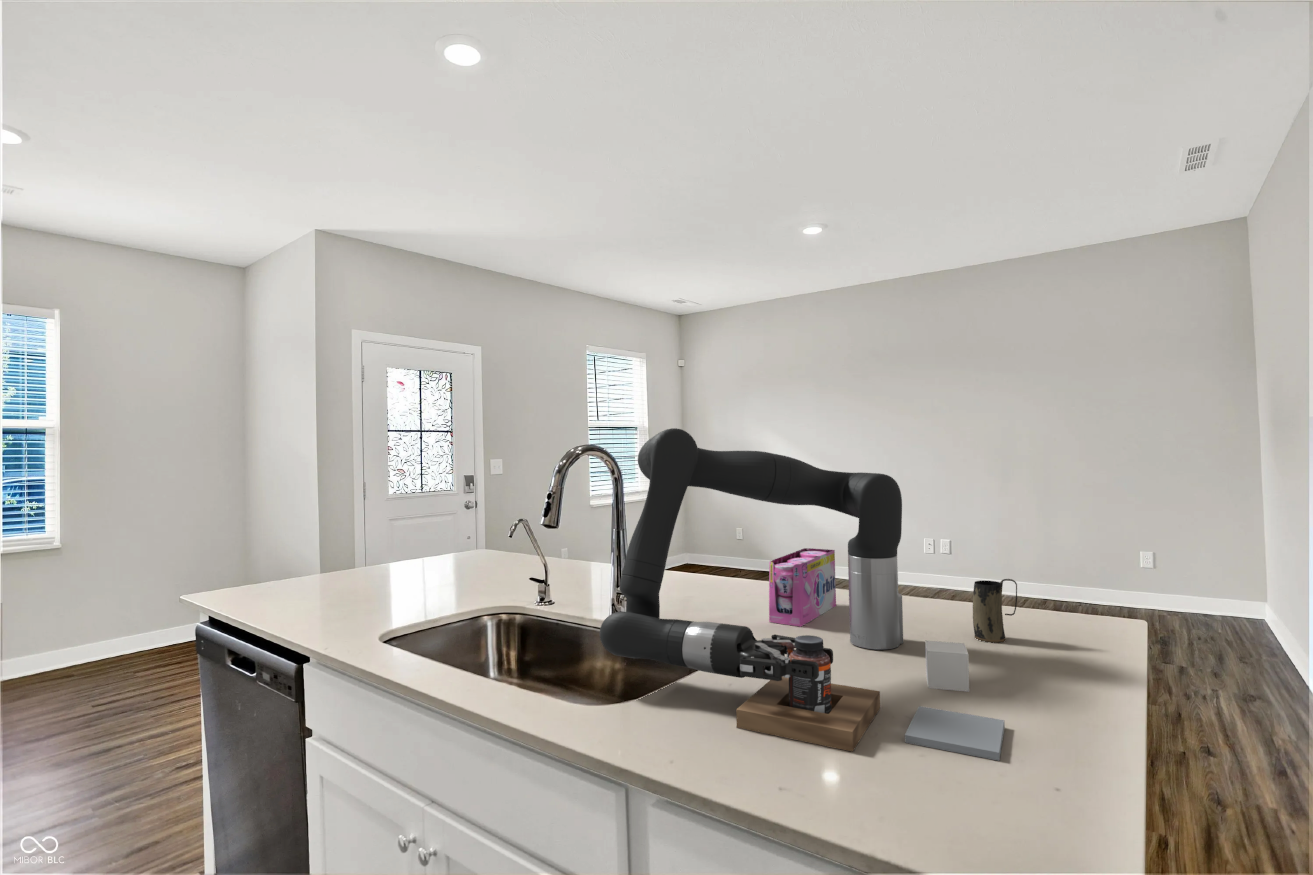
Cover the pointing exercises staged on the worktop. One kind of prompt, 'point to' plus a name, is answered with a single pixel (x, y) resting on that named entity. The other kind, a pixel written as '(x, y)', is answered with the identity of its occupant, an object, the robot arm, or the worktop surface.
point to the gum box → (801, 586)
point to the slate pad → (956, 732)
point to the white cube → (947, 665)
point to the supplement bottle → (808, 690)
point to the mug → (989, 611)
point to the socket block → (811, 715)
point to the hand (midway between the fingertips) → (825, 663)
